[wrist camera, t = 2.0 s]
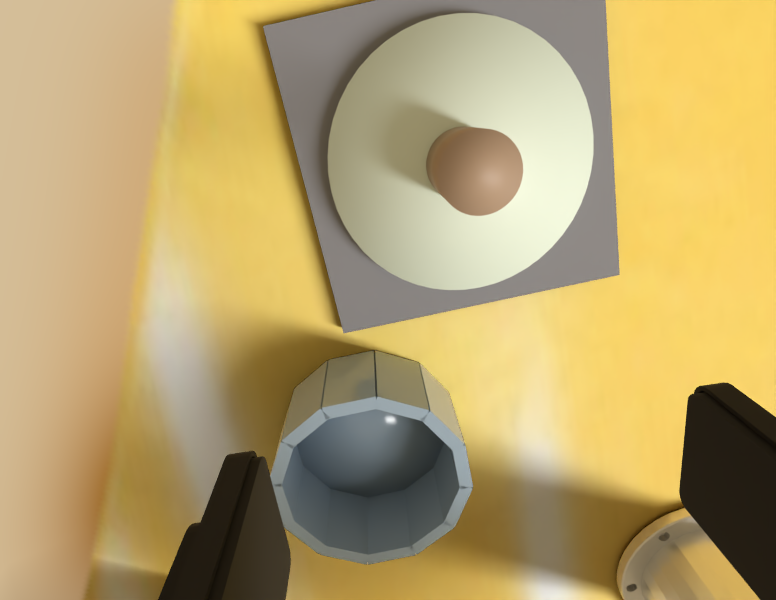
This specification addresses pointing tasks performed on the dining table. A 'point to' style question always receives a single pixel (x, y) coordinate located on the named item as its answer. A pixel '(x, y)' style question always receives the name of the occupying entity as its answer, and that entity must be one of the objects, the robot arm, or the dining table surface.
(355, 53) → the mat
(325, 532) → the bowl
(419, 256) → the lid
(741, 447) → the robot arm
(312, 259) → the dining table surface
